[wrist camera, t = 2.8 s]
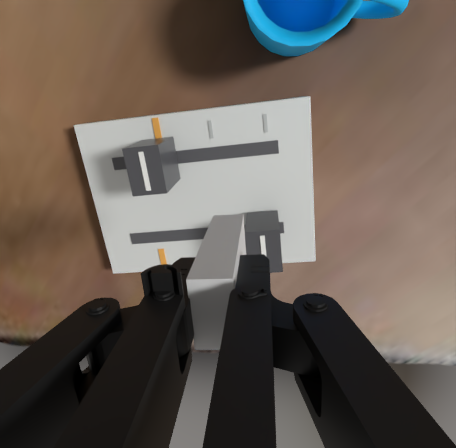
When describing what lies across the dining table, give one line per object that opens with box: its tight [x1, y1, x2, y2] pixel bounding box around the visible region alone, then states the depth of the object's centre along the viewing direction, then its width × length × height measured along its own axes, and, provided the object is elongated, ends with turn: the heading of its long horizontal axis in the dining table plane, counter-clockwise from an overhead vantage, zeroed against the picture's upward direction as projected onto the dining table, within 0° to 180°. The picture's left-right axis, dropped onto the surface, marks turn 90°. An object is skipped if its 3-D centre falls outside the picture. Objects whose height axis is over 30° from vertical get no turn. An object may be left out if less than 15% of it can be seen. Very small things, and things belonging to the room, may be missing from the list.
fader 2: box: [245, 210, 283, 273], centre depth 32 cm, size 4×3×5 cm
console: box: [74, 96, 316, 274], centre depth 35 cm, size 16×22×2 cm
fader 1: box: [122, 136, 181, 196], centre depth 30 cm, size 4×3×5 cm
